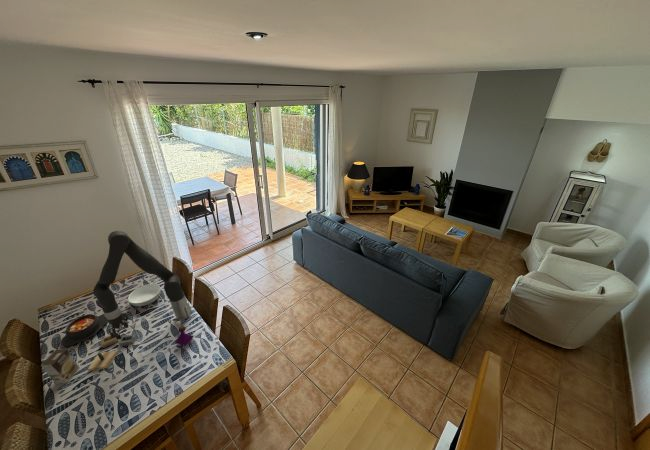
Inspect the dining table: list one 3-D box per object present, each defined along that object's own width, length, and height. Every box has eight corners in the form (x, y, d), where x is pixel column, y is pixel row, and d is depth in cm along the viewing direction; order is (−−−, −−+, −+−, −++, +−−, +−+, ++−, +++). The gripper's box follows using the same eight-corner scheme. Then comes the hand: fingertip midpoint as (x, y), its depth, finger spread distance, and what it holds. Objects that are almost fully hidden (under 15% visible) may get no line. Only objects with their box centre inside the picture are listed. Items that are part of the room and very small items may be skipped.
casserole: (101, 313, 184) (96, 305, 180) (115, 323, 176) (110, 315, 172) (56, 340, 165) (49, 331, 161) (70, 353, 157) (63, 343, 153)
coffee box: (67, 383, 141) (52, 364, 133) (55, 384, 140) (39, 365, 133) (80, 367, 149) (67, 348, 141) (68, 367, 148) (54, 349, 141)
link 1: (118, 335, 168) (117, 332, 166) (118, 341, 164) (117, 338, 162) (103, 341, 164) (101, 338, 162) (103, 347, 160) (101, 344, 158)
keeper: (117, 352, 157) (113, 345, 154) (108, 367, 148) (103, 360, 145) (99, 354, 156) (94, 347, 153) (89, 370, 147) (84, 363, 144)
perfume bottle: (194, 339, 165) (187, 319, 157) (185, 349, 159) (177, 329, 150) (185, 336, 167) (177, 316, 159) (176, 345, 161) (167, 326, 153)
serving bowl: (155, 286, 209) (152, 280, 206) (168, 297, 198) (165, 290, 195) (126, 302, 194) (123, 295, 191) (138, 314, 183) (135, 307, 180)
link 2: (137, 337, 167) (135, 334, 165) (133, 344, 162) (131, 341, 161) (123, 339, 165) (122, 335, 164) (119, 346, 161) (117, 343, 159)
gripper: (114, 323, 147) (124, 342, 155) (126, 304, 159) (135, 323, 167) (99, 324, 146) (110, 343, 153) (113, 306, 158) (122, 324, 166)
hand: (123, 333), depth 160 cm, fingers open, 8 cm apart
